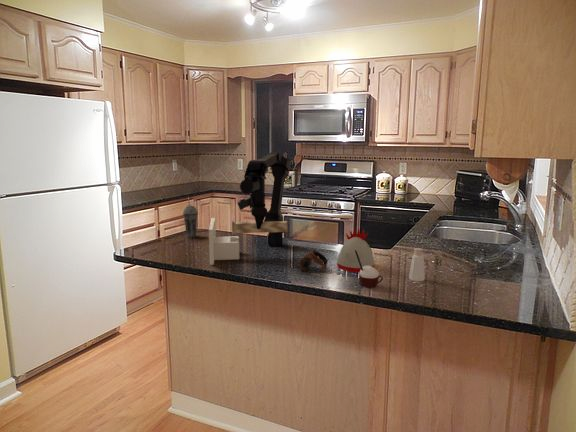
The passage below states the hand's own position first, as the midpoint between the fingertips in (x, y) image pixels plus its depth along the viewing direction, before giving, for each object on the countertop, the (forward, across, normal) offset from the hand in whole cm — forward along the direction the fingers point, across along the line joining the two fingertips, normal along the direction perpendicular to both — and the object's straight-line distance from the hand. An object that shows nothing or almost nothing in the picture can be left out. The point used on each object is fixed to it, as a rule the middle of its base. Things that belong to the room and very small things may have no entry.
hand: (258, 228), depth 175 cm
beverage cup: (+12, -38, -31) cm, 50 cm away
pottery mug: (+12, +24, +18) cm, 32 cm away
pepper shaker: (+12, +38, +53) cm, 66 cm away
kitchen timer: (+12, +21, +36) cm, 43 cm away
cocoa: (+12, +42, +34) cm, 55 cm away
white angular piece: (+11, 0, -13) cm, 17 cm away
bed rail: (+2, 0, +1) cm, 2 cm away
